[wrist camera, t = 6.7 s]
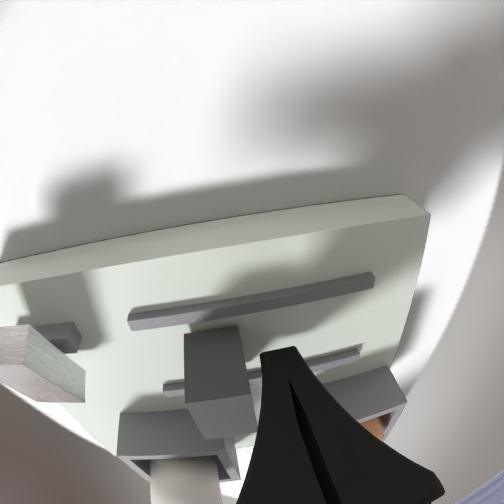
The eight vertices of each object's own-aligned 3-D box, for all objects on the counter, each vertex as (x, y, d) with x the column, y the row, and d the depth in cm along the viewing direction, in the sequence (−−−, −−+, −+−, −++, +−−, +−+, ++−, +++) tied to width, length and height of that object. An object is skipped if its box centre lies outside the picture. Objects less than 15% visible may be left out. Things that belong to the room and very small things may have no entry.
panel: (360, 394, 20) (383, 445, 16) (116, 432, 18) (113, 487, 15) (403, 194, 12) (474, 249, 8) (-2, 263, 11) (-49, 333, 7)
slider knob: (246, 370, 13) (258, 431, 10) (199, 378, 12) (205, 439, 10) (238, 325, 11) (251, 393, 9) (183, 333, 11) (185, 403, 8)
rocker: (85, 370, 11) (84, 402, 10) (39, 372, 11) (36, 401, 10) (29, 323, 8) (23, 364, 7) (-20, 328, 8) (-27, 364, 7)
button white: (222, 470, 15) (228, 514, 12) (162, 474, 14) (165, 518, 12) (209, 449, 13) (215, 503, 10) (140, 453, 13) (140, 505, 10)
